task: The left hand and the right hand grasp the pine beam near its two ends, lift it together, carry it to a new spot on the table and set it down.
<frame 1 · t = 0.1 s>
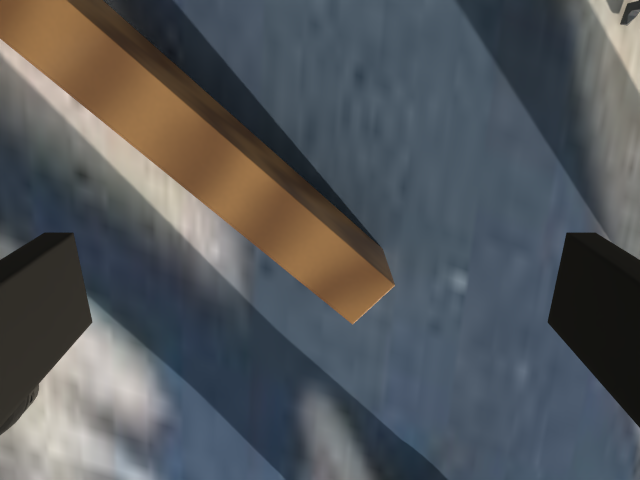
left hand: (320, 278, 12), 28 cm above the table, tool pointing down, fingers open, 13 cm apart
beam: (139, 72, 37), on the table
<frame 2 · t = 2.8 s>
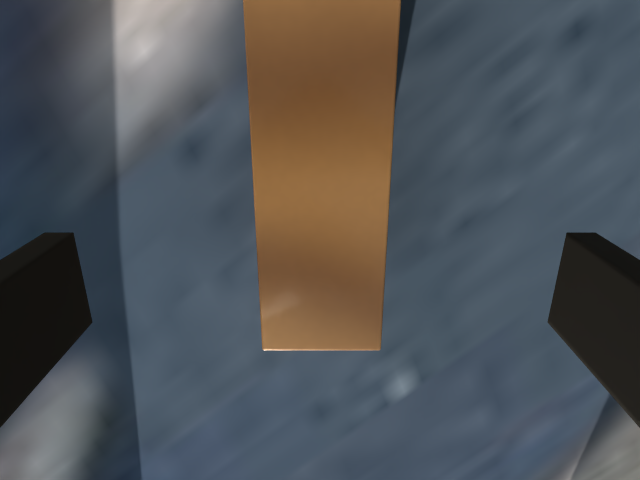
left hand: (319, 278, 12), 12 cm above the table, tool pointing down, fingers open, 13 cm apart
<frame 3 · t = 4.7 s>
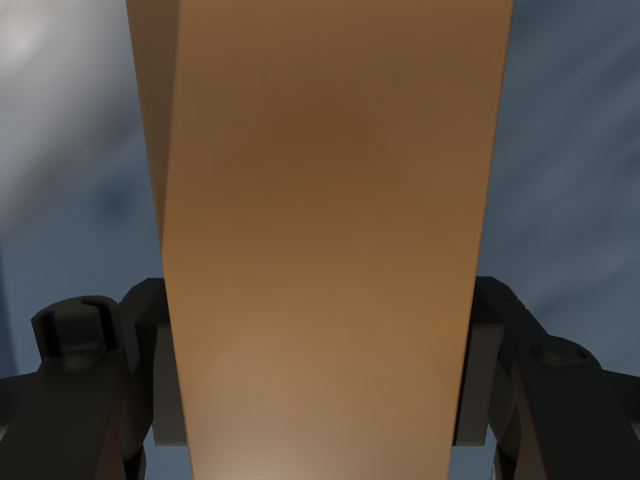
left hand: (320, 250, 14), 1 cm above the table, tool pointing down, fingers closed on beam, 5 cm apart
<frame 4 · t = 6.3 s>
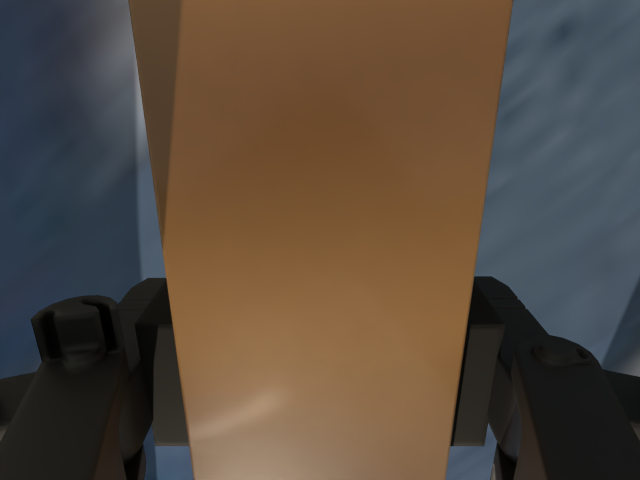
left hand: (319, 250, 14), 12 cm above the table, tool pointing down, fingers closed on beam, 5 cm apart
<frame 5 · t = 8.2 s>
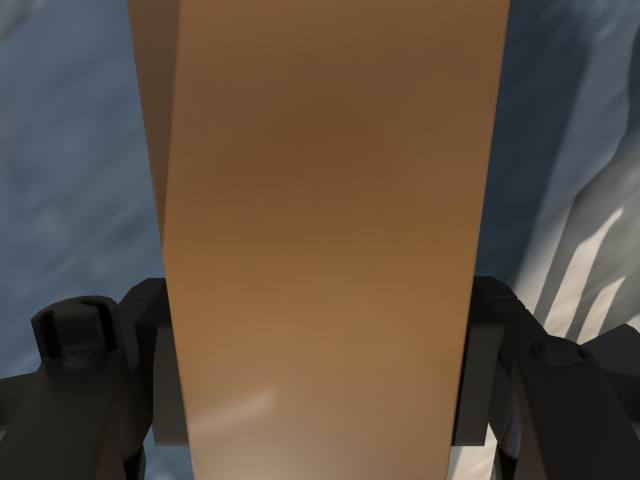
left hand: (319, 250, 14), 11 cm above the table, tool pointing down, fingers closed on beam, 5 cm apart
toy: (608, 409, 31), on the table
when the left hand's fingers open (2 cm above the table, at t = 9.7 s): beam drops 1 cm, on the table.
when the right hand's fingers open (3 cm above the table, at t = 9.8 s): beam drops 1 cm, on the table.
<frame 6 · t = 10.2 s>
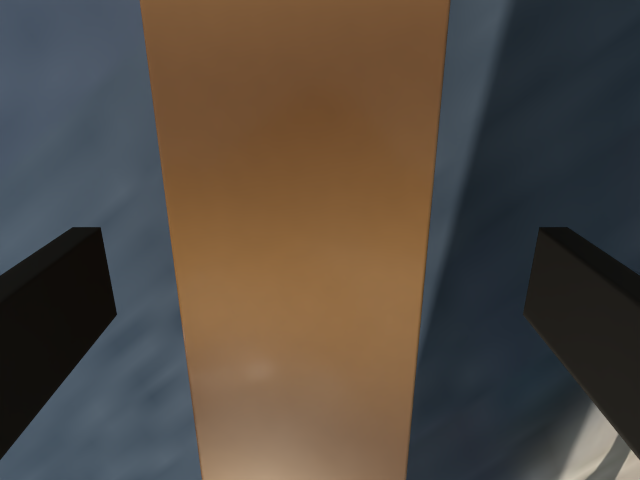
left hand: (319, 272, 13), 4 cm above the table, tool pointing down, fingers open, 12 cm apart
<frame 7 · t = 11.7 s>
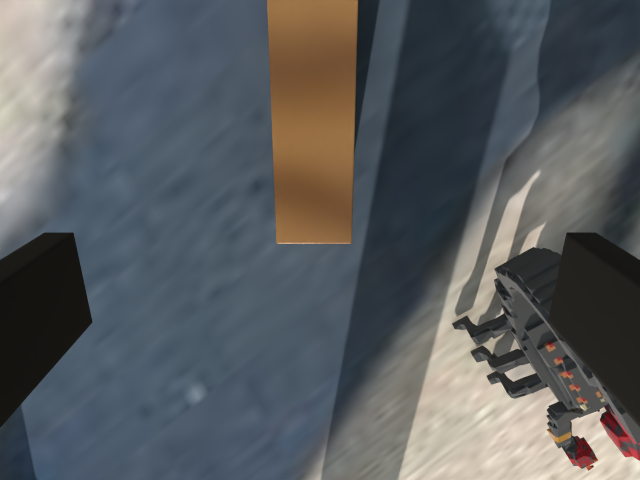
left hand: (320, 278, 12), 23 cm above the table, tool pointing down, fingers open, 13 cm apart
toy: (540, 329, 40), on the table
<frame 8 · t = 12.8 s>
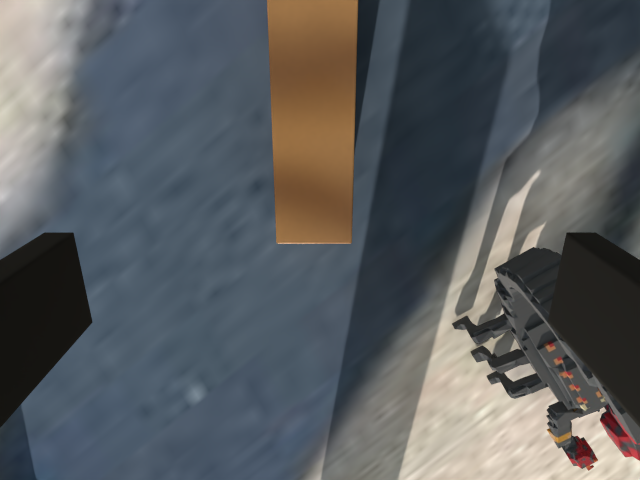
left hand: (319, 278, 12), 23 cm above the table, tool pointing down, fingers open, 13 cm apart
toy: (540, 329, 40), on the table
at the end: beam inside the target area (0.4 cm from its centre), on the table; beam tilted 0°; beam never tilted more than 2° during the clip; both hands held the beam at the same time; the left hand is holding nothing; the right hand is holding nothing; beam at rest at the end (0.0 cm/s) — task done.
